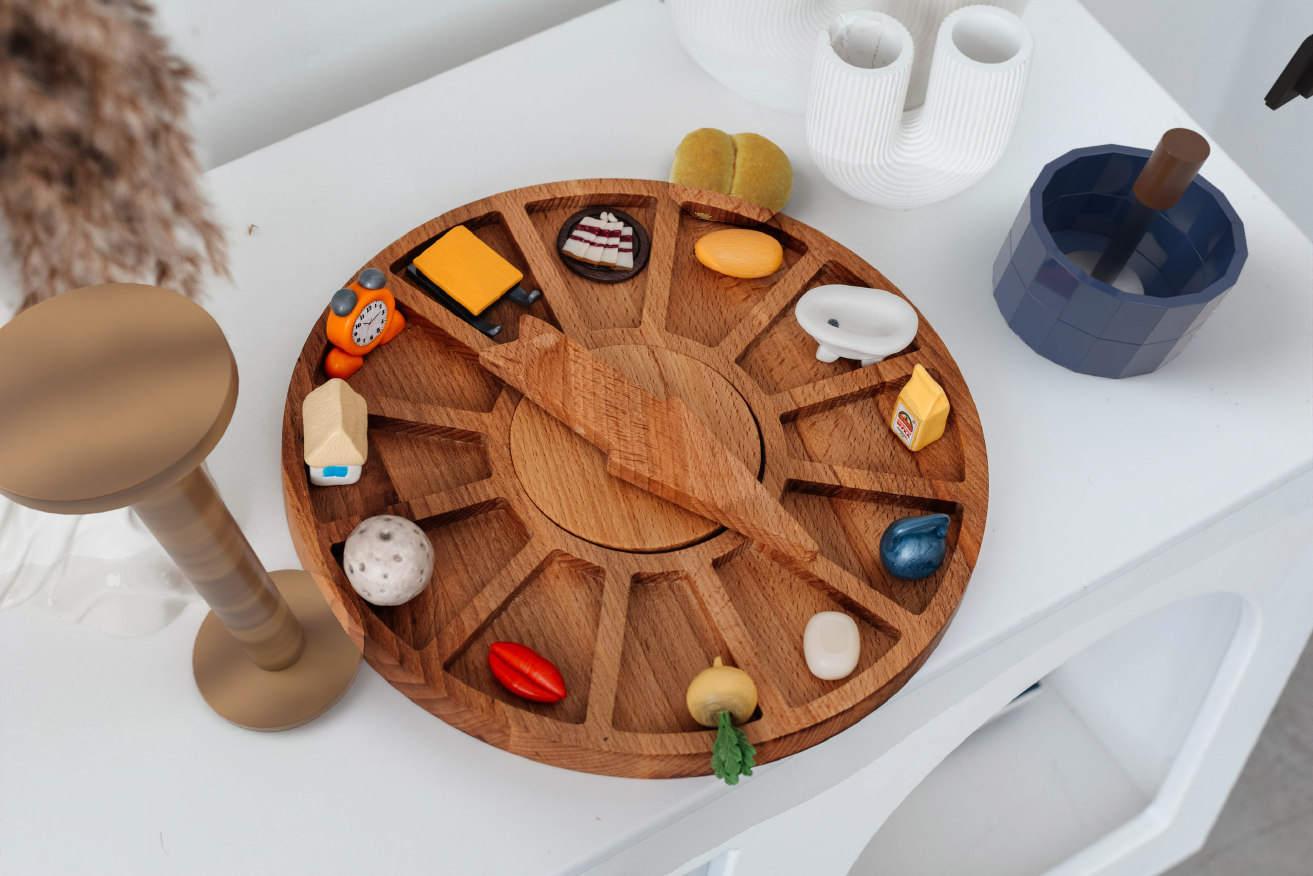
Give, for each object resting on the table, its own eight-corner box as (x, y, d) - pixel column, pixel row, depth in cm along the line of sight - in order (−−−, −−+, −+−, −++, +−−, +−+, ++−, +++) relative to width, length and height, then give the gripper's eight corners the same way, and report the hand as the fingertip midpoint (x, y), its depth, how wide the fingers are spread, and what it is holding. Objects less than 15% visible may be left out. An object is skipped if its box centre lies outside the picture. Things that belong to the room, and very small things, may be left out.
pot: (1227, 323, 75) (1291, 245, 68) (1094, 415, 70) (1148, 342, 63) (1082, 200, 80) (1128, 117, 73) (950, 278, 75) (986, 197, 68)
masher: (1156, 306, 74) (1265, 156, 62) (1093, 348, 72) (1193, 200, 60) (1088, 247, 77) (1179, 91, 65) (1025, 285, 75) (1108, 132, 63)
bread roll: (786, 239, 76) (795, 199, 73) (661, 222, 77) (664, 181, 73) (794, 156, 81) (803, 115, 77) (675, 140, 81) (679, 98, 77)
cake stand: (394, 670, 59) (275, 415, 37) (239, 766, 56) (6, 551, 34) (319, 546, 62) (169, 245, 40) (169, 630, 59) (-83, 354, 37)
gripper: (1702, -257, 38) (1394, 113, 53) (1304, -447, 45) (1129, -72, 60) (1593, -197, 36) (1302, 174, 50) (1189, -408, 43) (1035, -26, 57)
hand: (1208, 41), depth 55 cm, fingers open, 9 cm apart
